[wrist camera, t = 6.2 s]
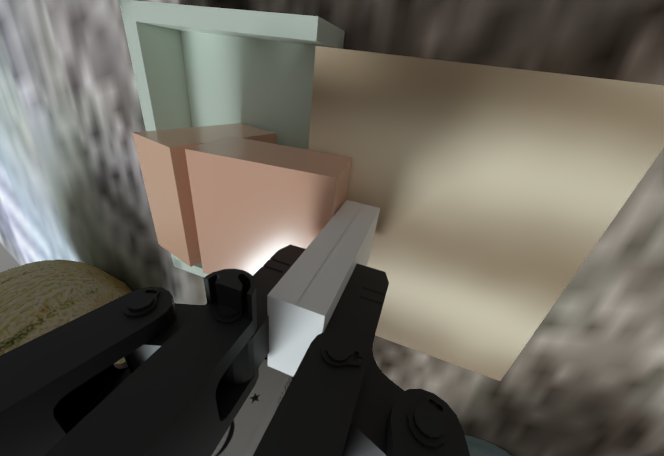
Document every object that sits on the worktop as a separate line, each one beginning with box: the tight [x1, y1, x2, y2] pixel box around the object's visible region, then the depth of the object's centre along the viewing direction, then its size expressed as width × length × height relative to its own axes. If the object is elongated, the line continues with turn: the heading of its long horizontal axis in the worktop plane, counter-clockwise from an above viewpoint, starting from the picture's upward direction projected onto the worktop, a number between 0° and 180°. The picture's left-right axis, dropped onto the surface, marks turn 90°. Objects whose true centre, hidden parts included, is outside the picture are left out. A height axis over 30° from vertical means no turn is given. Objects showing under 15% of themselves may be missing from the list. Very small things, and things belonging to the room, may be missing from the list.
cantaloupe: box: [0, 260, 132, 364], centre depth 26 cm, size 15×15×15 cm
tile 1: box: [185, 136, 352, 276], centre depth 13 cm, size 6×6×3 cm
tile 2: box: [132, 123, 276, 267], centre depth 15 cm, size 6×6×3 cm
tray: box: [119, 0, 345, 277], centre depth 17 cm, size 16×10×4 cm, turn 173°
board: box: [308, 46, 664, 381], centre depth 14 cm, size 14×12×4 cm
